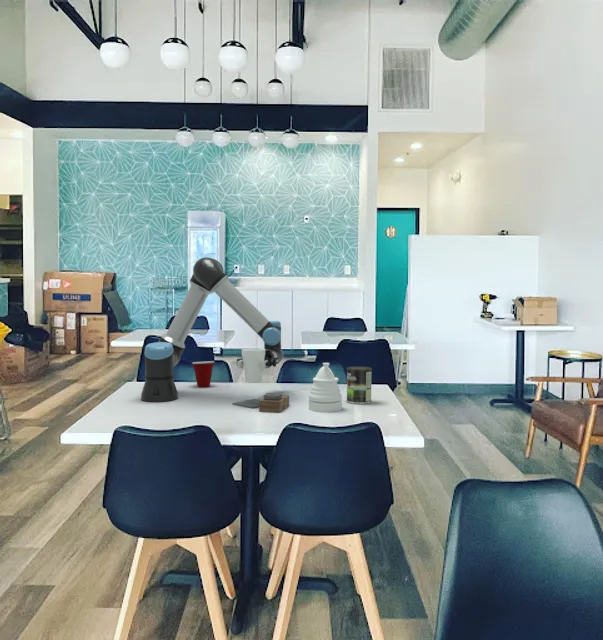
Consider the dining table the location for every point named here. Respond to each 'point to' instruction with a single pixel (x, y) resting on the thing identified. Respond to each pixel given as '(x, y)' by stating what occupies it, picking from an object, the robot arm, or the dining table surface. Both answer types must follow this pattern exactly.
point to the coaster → (248, 403)
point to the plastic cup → (203, 372)
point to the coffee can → (359, 385)
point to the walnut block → (273, 402)
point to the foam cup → (253, 364)
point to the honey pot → (325, 392)
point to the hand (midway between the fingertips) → (250, 365)
